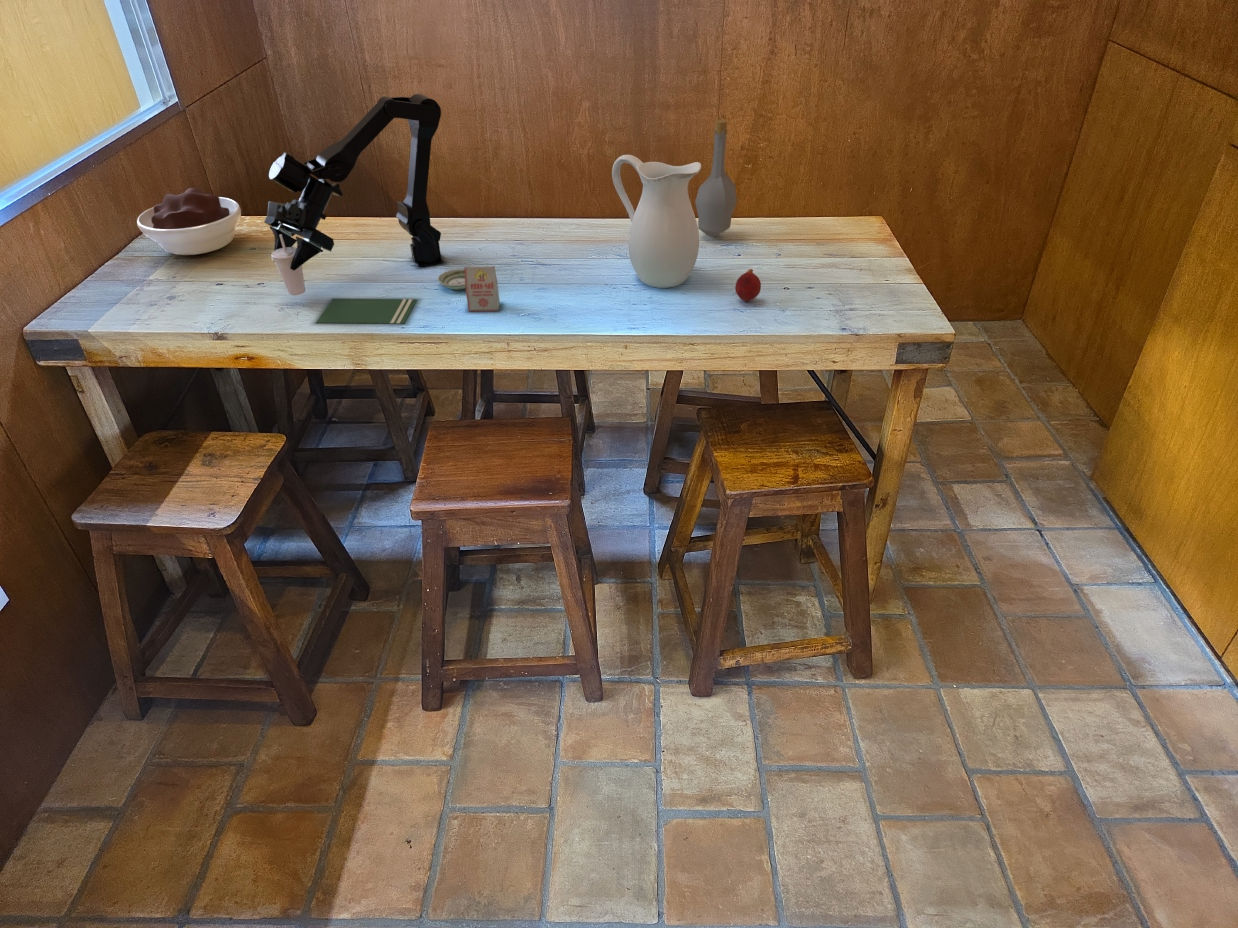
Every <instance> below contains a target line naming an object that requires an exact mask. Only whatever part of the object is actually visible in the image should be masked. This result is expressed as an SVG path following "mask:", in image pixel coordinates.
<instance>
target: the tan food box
mask: <svg viewBox="0 0 1238 928" xmlns="http://www.w3.org/2000/svg"><path fill="white" fill-rule="evenodd" d="M463 269H464V272H465V288H466V289H465V295H466V302H467V309H468V310H467V311H468V312H499V309H500V304H501V301H500V293H499V284H498V278H497V272H496V268H495V265H493V266H492V265H490V266H489V265H487V266H464V267H463Z"/></svg>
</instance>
